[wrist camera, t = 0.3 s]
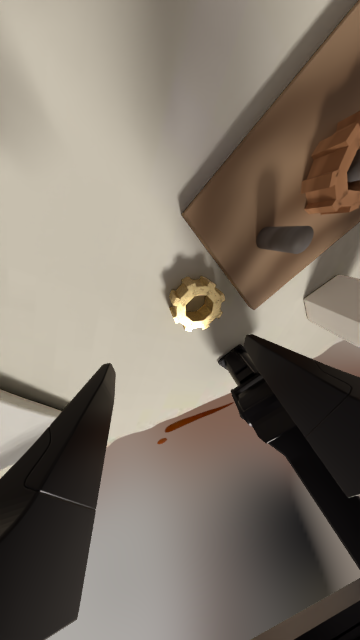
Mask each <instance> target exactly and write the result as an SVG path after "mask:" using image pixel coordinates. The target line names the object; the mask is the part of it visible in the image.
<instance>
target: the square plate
mask: <svg viewBox="0 0 360 640" xmlns="http://www.w3.org/2000/svg"><path fill="white" fill-rule="evenodd" d="M61 412H62V411H60V410H57V409H55V408H52V407H49V406H46V405H43V404H40V403H37V402H34V401H31V400H28V399H25V398H22V397H19V396H17V395H14V394H11V393H9V392H6V391H3V390H1V389H0V471H1V470H3V469H5V468H7V467H9V466H12V465H14V464H15V463H16V462H17V461H18V460H19V459H20V458H21V457H22V456H23V455H24V454H25V452H26V451H27V450H28V449H29V448H30V447H31V446H32V445H33V444H34V443H35V441H36V440H37V439H38V438H39V437H40V436H41V435H42V434H43V432H44V431H45V430H46V429H47V428H48V427H50V425H51V423H52V422H53V421H54V420H55V419H56V418H57V417H58V415H59V414H60V413H61Z"/></svg>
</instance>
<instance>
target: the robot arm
mask: <svg viewBox="0 0 360 640" xmlns="http://www.w3.org/2000/svg"><path fill="white" fill-rule="evenodd" d="M218 363H219V365H221V366H222V367H224V368H225V369H227V370H228V371H229V373H230V374H231V376H232V377H233V379H234V381H235V382H236V384H237V385H238V386H237V387H236V388H234V389H232V390H231V393H232V397H233V399H234V401H235V403H236V406H237V408H238V410H239V414H240V417H241V418H242V419H244V420H245V421H246V422H247V423H248V424H249V425H250V426H251V427H253V428H254V430H255V431H256V433H257V435H258V437H259V438H260V439H262V440H263V441H264V442H265V443H268V444H270V445H271V446H272V447H274V448H275V449H276V450H278V451H279V452H280V453H282V454H283V455H284V456H285V457H286V458H287V460H288V461H289V463H290V464H291V466H292V467H293V468H294V470H295V472H296V473H297V475H298V476H299V478H300V479H301V481H302V482H303V484H304V485H305V487H306V489H307V490H308V492H309V493H310V495H311V496H312V498H313V499H314V501H315V502H316V504H317V505H318V507H319V508H320V510H321V511H322V513H323V514H324V516H325V517H326V519H327V520H328V522H329V524H330V525H331V527H332V528H333V530H334V531H335V533H336V534H337V535H338V537H339V539H340V540H341V542H342V543H343V545H344V546H345V548H346V549H347V551H348V552H349V554H350V555H351V557H352V559H353V560H354V561H355V563H356V565H357V566H358V568H359V569H360V377H357V376H354V375H351V374H349V373H346V372H343V371H341V370H338V369H335V368H332V367H330V366H328V365H325V364H323V363H320V362H318V361H316V360H313V359H311V358H308V357H306V356H303V355H301V354H299V353H296V352H294V351H291V350H289V349H287V348H284V347H282V346H279V345H277V344H274V343H272V342H270V341H267V340H265V339H262V338H260V337H258V336H255V335H253V334H250V335H246V337H245V341H244V347H243V346H242V345H241V344H240V345H238V346H237V347H236V348H234V349H233V350H232V351H231V352H229V353H228V354H227V355H226V356H224V357H223V358H222V359H221V360H219V361H218ZM115 377H116V374H115V371H114V368H113V366H112V364H111V363H107V364H103V365H102V366H101V367H100V368H99V370H98V371H97V372H96V373H95V374H94V375H93V376H92V378H91V379H90V380H89V381H88V382H87V383H86V384H85V386H84V387H83V388H82V389H81V390H80V391H79V392H78V394H77V395H76V396H75V397H74V398H73V399H72V401H71V402H70V403H69V404H68V405H67V406H66V407H65V409H64V410H63V411H62V412H61V413H60V414H59V415H58V417H57V418H56V419H55V420H54V421H53V422H52V423H51V425H50V427H48V428H47V429H46V430H45V431H44V432H43V434H42V435H41V436H40V437H39V438H38V439H37V440H36V441H35V443H34V444H33V445H32V446H31V447H30V448H29V449H28V450H27V451H26V452H25V454H24V455H23V456H22V457H21V458H20V459H19V460H18V461H17V462H16V463H15V464H14V465H13V466H12V467H11V468H10V469H9V470H8V471H7V472H6V473H5V474H4V476H3V477H2V478H1V479H0V640H46V639H47V638H49V637H50V636H52V635H54V634H55V633H57V632H58V631H60V630H61V629H63V628H64V627H66V626H68V625H69V624H71V623H72V622H74V621H75V620H77V617H78V612H79V606H80V601H81V595H82V588H83V583H84V577H85V571H86V565H87V559H88V553H89V547H90V541H91V536H92V530H93V524H94V518H95V509H96V505H97V499H98V493H99V488H100V481H101V475H102V470H103V464H104V458H105V452H106V446H107V440H108V434H109V428H110V422H111V416H112V411H113V405H114V395H115ZM251 640H360V578H359V579H357V580H356V581H354V582H352V583H350V584H349V585H347V586H345V587H343V588H342V589H340V590H338V591H336V592H334V593H333V594H331V595H329V596H327V597H326V598H324V599H322V600H320V601H319V602H317V603H315V604H313V605H311V606H310V607H308V608H306V609H304V610H302V611H301V612H299V613H297V614H295V615H293V616H292V617H290V618H288V619H286V620H285V621H283V622H281V623H279V624H277V625H276V626H274V627H272V628H271V629H269V630H267V631H265V632H263V633H261V634H260V635H258V636H257V637H254V638H253V639H251Z"/></svg>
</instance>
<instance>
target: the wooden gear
mask: <svg viewBox="0 0 360 640" xmlns="http://www.w3.org/2000/svg"><path fill="white" fill-rule="evenodd" d="M181 281H182V284H181V285H180V286H179V287H178V288H177V289H176V291H175V290H171V293H170V295H169V297H170V300H171V302H172V304H173V306H172V307H170V311H171V314H172V316H173V319H174V321H175V322H176V323H179V322H180V323H182V325H183V327H184V329H185V330H186V331H192V329H194V328H201V327H202V329H203V330H204V329H206V328H209V324H210V323H211V322H212V321H213V320H214V319H215V318H220V316H221V315H222V313H223V312H222V311H221V310H220V308H221V303H222V302H223V301H225V297H224V294H223V293H222V292H221V291H219V290H218V289H217V288H215V287H216V284H214V283H213V282H212V281H210V280H209V279H207V278H205V277H203V276H201V277H200V279H198V280H192V279H190V278H189V277H186V278H184V279H181ZM201 295H205V303H204V305H203V306H202V307H201V308H200V309H198V310H197V311H192V312H187V311H186V304H187V303H188V302H189V301H190V300H191V299H192V298H193V297H194V296H201Z"/></svg>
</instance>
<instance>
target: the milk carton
mask: <svg viewBox="0 0 360 640" xmlns="http://www.w3.org/2000/svg"><path fill="white" fill-rule="evenodd" d="M304 302H305V307H306V312H307V318H308V320H309V321H310V322H312V323H314V324H316V325H318V326H320V327H322V328H324V329H325V330H327V331H329V332H331V333H333V334H335V335H337V336H338V337H340V338H342V339H344V340H346V341H348V342H350V343H352V344H353V345H355V346H357V347H359V348H360V279H357V278H353V277H348V276H344V275H337V276H336V277H334V278H333V279H331V280H330V281H328V282H327V283H326V284H324V285H323V286H321V287H320V288H319V289H317V290H316V291H314V292H313V293H311V294H310V295H309V296H307V297H306V298H305V299H304Z"/></svg>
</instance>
